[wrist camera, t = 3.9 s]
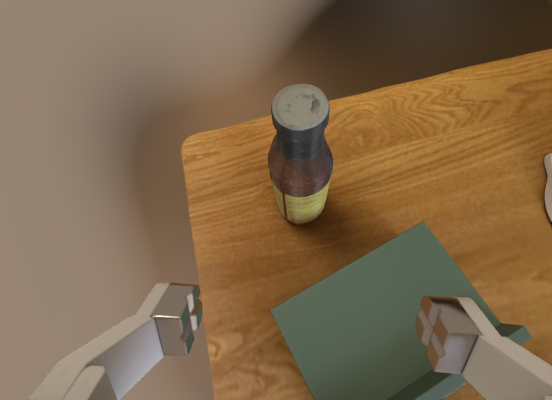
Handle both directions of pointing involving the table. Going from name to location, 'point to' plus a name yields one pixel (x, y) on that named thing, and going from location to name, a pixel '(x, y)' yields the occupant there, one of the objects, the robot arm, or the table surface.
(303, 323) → the shelf
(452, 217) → the table surface
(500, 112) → the table surface
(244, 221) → the table surface
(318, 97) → the sauce bottle
